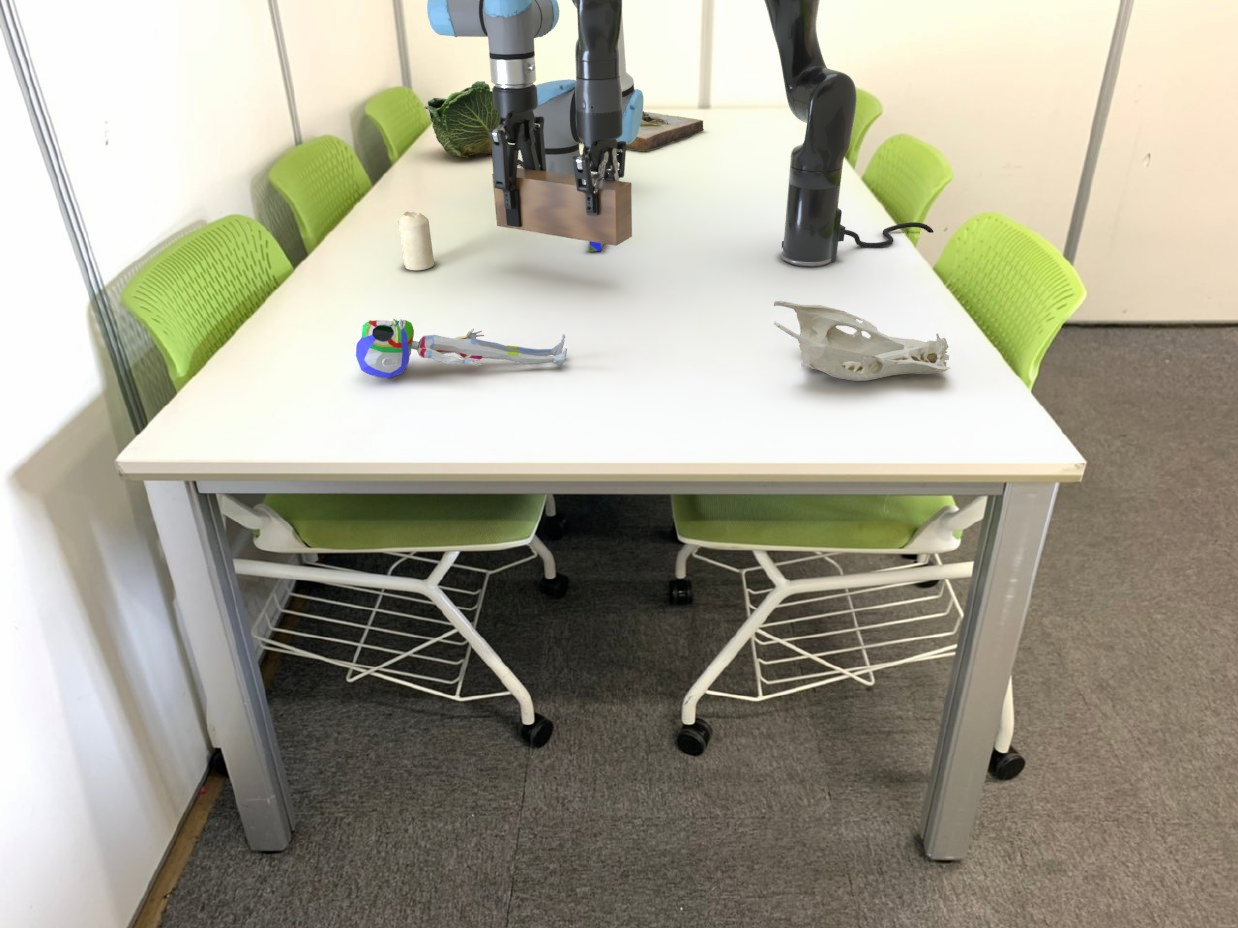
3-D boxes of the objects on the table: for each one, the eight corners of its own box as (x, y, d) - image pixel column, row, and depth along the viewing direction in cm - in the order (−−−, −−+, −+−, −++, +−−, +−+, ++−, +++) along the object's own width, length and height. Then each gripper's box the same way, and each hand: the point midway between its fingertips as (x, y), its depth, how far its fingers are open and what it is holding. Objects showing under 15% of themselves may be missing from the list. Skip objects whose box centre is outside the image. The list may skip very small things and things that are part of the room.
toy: (569, 347, 126) (349, 329, 122) (563, 400, 131) (350, 385, 126) (565, 318, 135) (359, 301, 130) (559, 369, 139) (360, 354, 134)
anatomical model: (773, 291, 133) (948, 293, 129) (771, 347, 137) (939, 351, 134) (773, 333, 120) (966, 337, 116) (770, 393, 125) (955, 399, 121)
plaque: (647, 125, 237) (559, 112, 252) (647, 153, 241) (560, 139, 256) (706, 107, 258) (622, 97, 273) (705, 133, 262) (622, 121, 277)
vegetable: (457, 176, 250) (415, 110, 242) (515, 138, 251) (474, 71, 243) (465, 176, 232) (420, 104, 224) (527, 135, 233) (484, 62, 225)
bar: (496, 226, 163) (492, 174, 158) (514, 218, 167) (510, 166, 162) (616, 246, 153) (615, 190, 148) (632, 236, 157) (631, 182, 152)
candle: (439, 262, 170) (432, 209, 165) (425, 272, 166) (417, 218, 161) (414, 259, 172) (406, 207, 167) (399, 269, 168) (391, 216, 162)
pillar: (613, 210, 190) (600, 241, 173) (613, 220, 191) (600, 251, 174) (603, 210, 190) (589, 240, 173) (603, 220, 191) (589, 251, 174)
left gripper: (500, 95, 142) (511, 238, 155) (562, 77, 156) (568, 210, 168) (462, 92, 145) (476, 232, 158) (526, 74, 159) (535, 205, 171)
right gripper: (596, 117, 138) (599, 225, 147) (640, 100, 148) (640, 202, 158) (555, 113, 141) (561, 219, 150) (601, 97, 152) (604, 197, 161)
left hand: (524, 220), depth 163 cm, fingers closed on bar, 5 cm apart
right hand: (601, 210), depth 154 cm, fingers closed on bar, 5 cm apart
